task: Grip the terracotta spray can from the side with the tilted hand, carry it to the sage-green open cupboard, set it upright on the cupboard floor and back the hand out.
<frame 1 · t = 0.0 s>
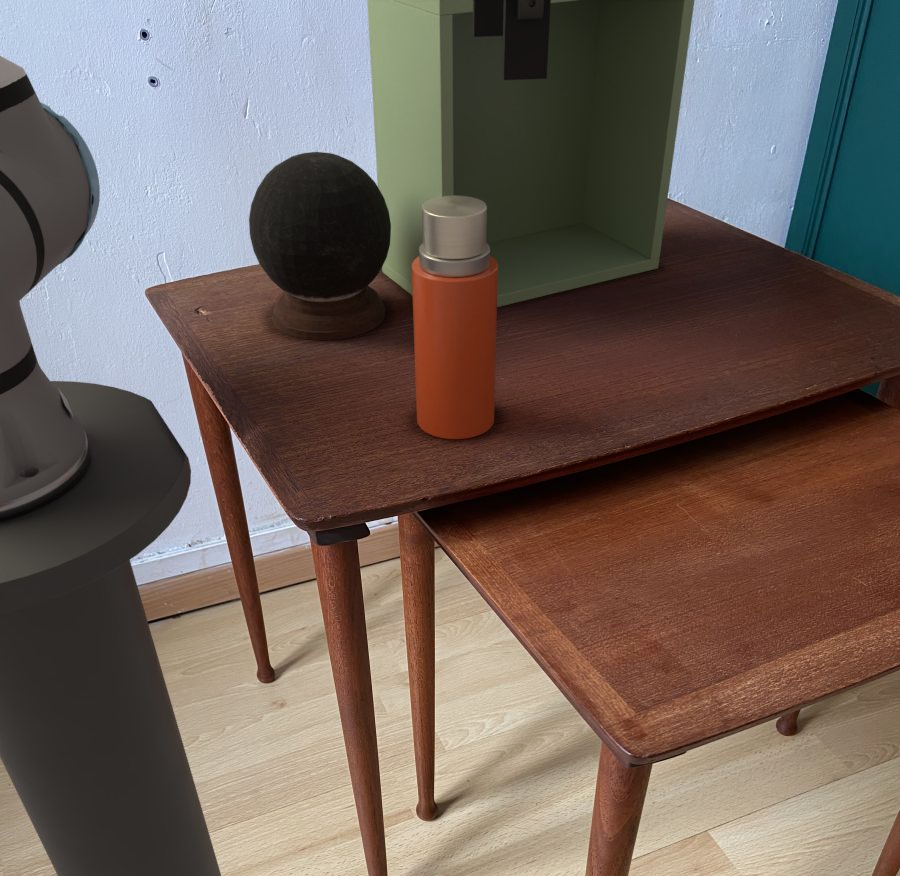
hand: (506, 55, 64), 26 cm above the table, tool pointing down, fingers open, 13 cm apart
cupboard: (520, 270, 103), on the table
spray can: (455, 419, 79), on the table
black ball on stand: (329, 317, 95), on the table
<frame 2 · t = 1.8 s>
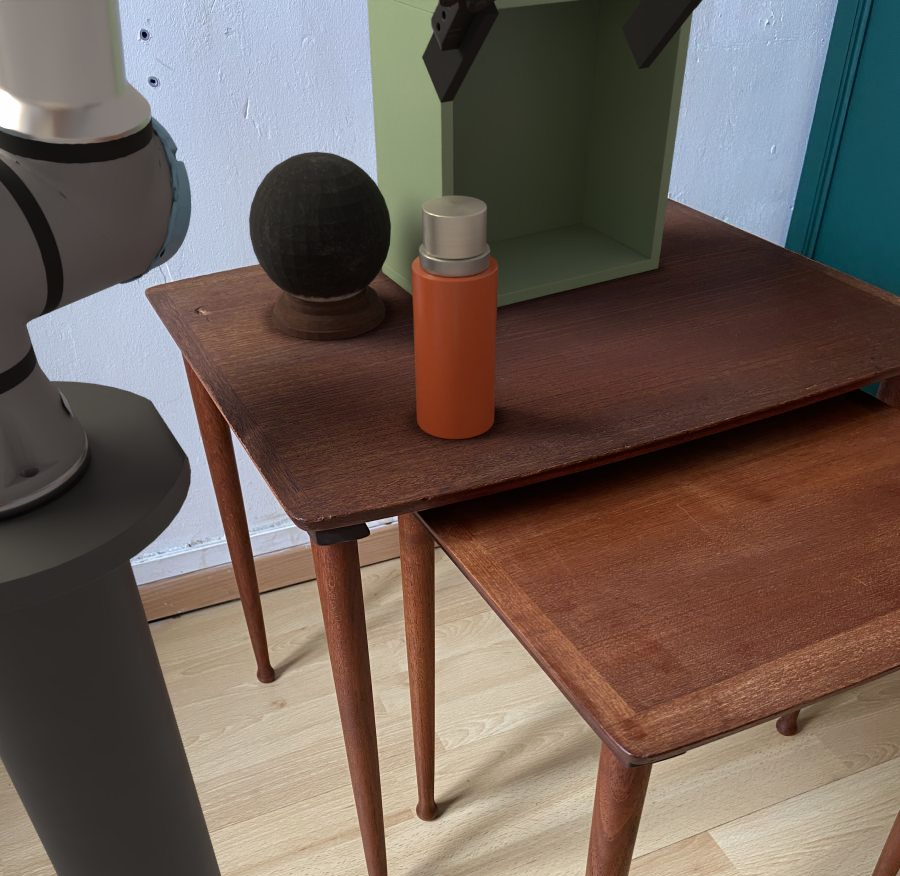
hand: (540, 63, 54), 28 cm above the table, tool tilted 45°, fingers open, 13 cm apart
nothing on the table moved.
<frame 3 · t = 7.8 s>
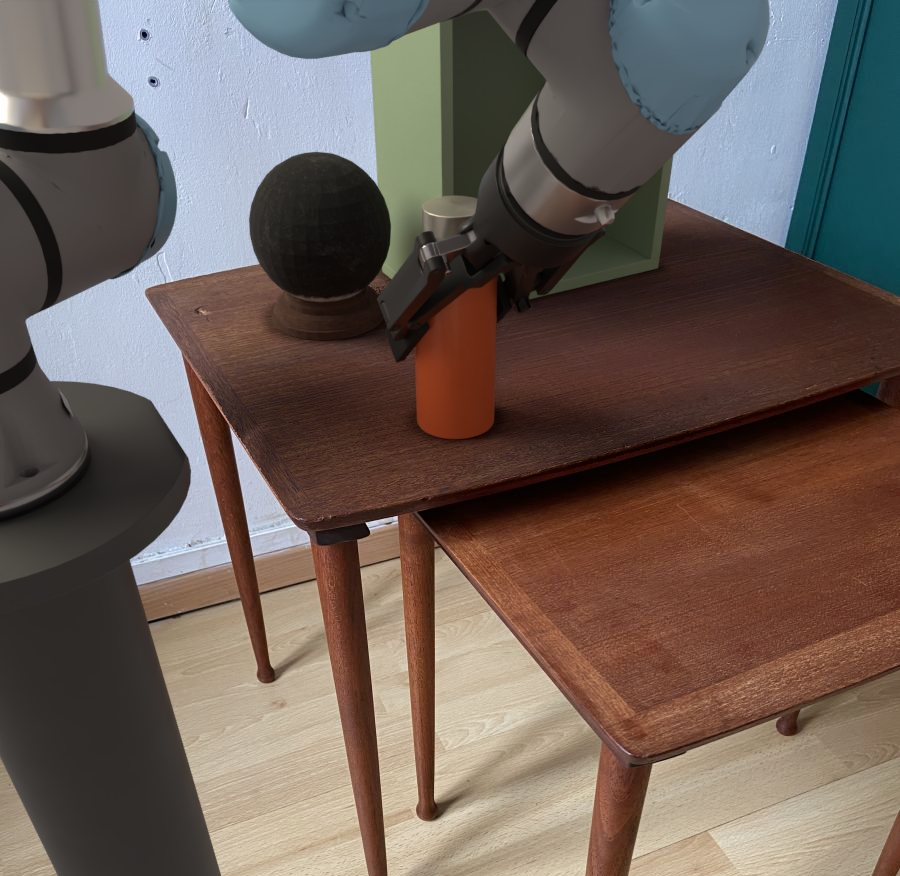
hand: (433, 335, 77), 6 cm above the table, tool tilted 45°, fingers closed on spray can, 6 cm apart
spray can: (455, 419, 79), on the table, touching gripper
everything else where it was.
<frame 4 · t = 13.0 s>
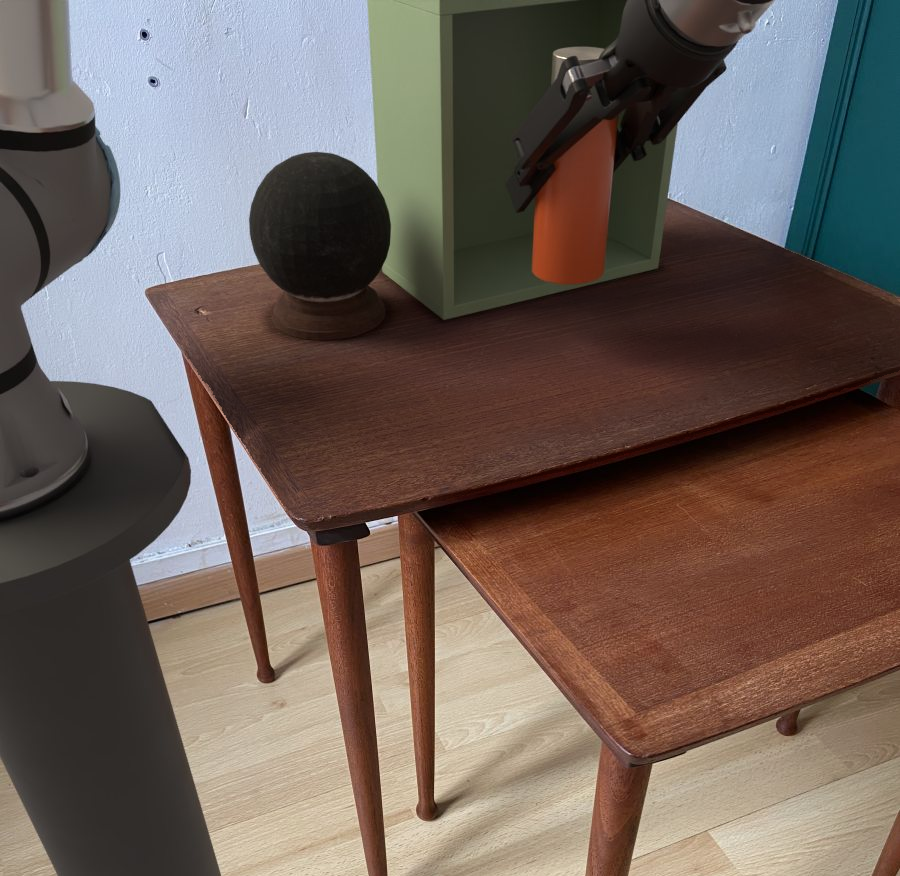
hand: (549, 190, 84), 13 cm above the table, tool tilted 45°, fingers closed on spray can, 6 cm apart
spray can: (567, 270, 85), point 7 cm above the table, touching gripper
everything else where it was.
when the fingers open (7 cm above the table, at t = 18.6 s): spray can stays where it is, resting on cupboard.
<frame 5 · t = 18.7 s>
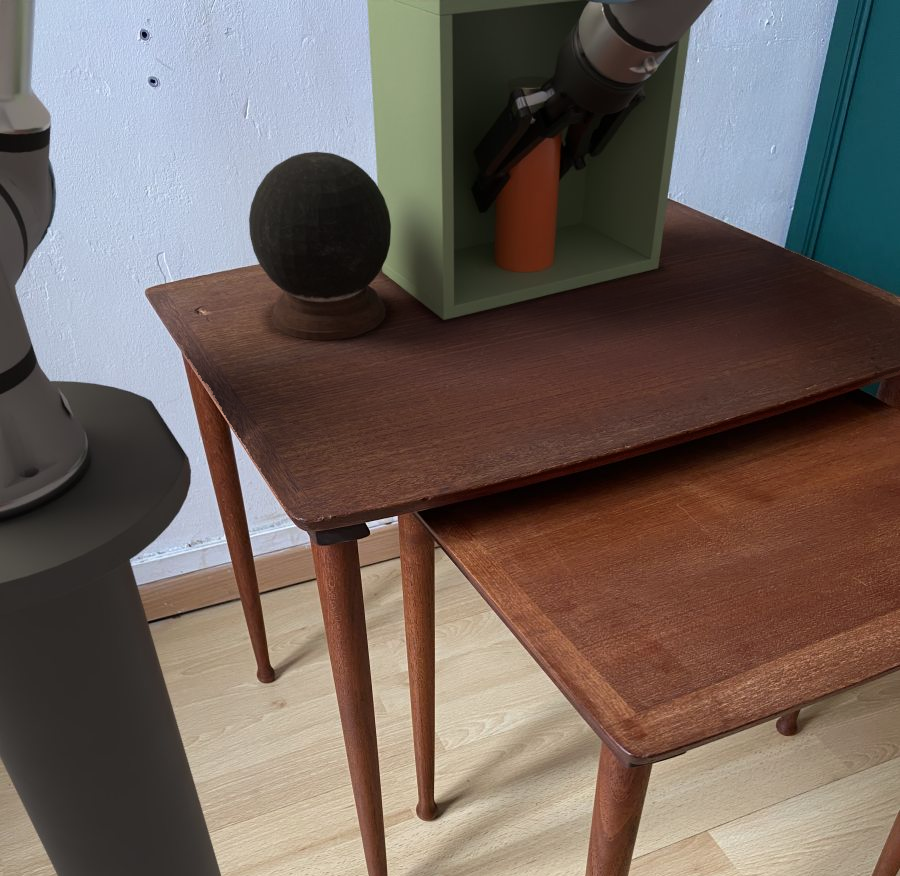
hand: (508, 194, 100), 7 cm above the table, tool tilted 45°, fingers open, 6 cm apart
spray can: (523, 261, 102), point 1 cm above the table, touching cupboard
everything else where it was.
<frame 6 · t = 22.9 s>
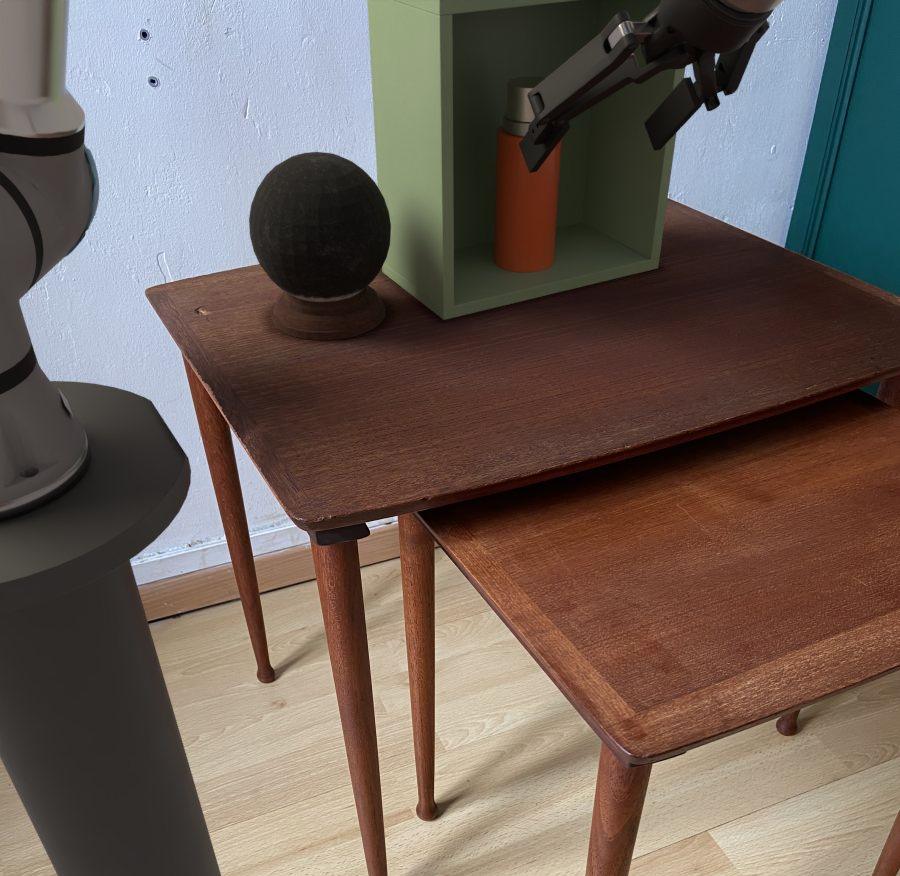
hand: (591, 147, 86), 15 cm above the table, tool tilted 45°, fingers open, 13 cm apart
nothing on the table moved.
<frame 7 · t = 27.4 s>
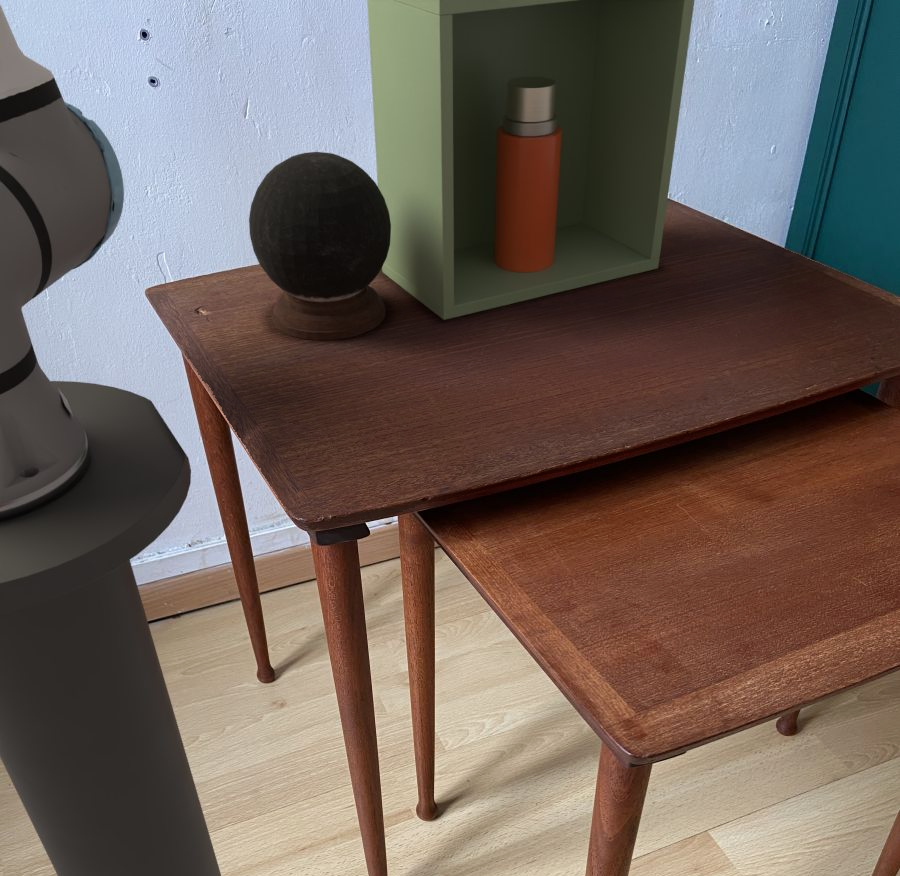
nothing on the table moved.
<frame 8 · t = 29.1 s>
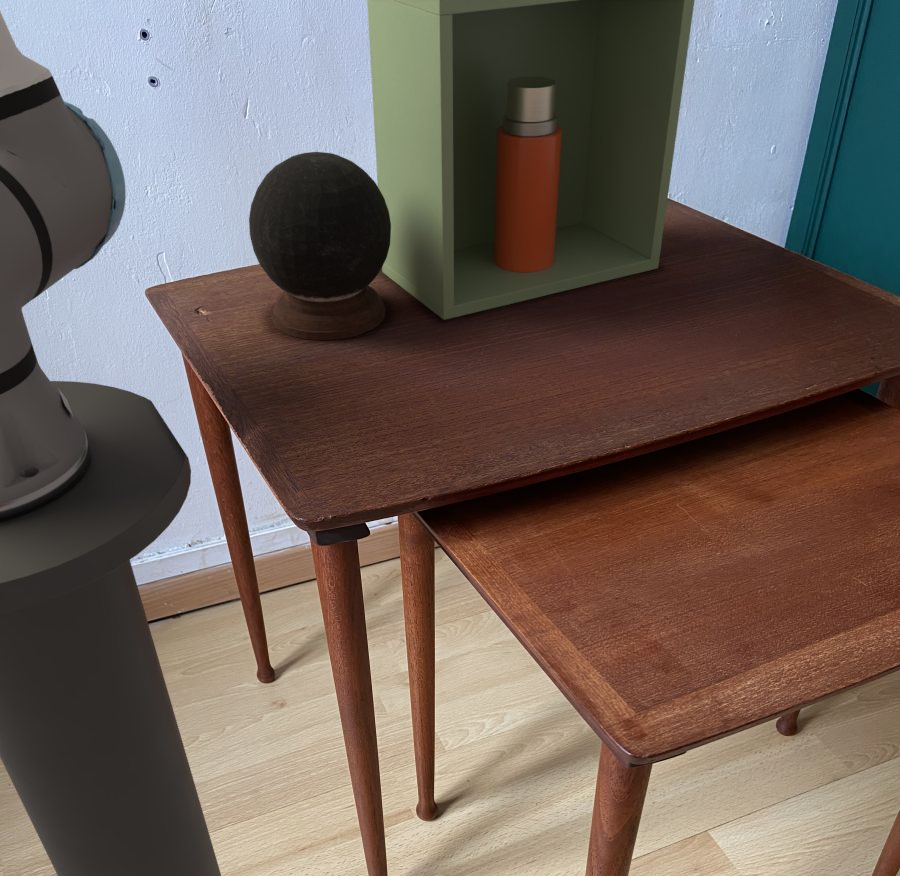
nothing on the table moved.
at the end: spray can inside the target area on the cupboard (0.2 cm from its centre), point 1.2 cm above the cupboard's base; spray can tilted 0°; the gripper is holding nothing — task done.
